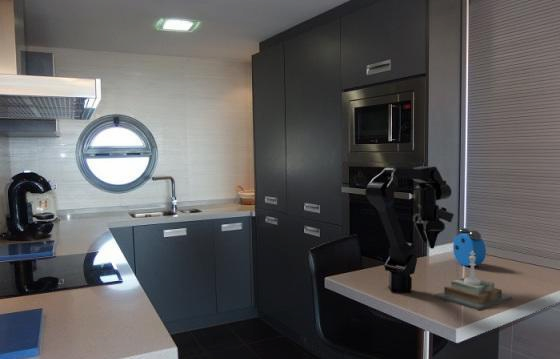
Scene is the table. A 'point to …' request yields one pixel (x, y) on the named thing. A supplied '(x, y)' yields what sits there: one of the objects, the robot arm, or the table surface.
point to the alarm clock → (469, 247)
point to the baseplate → (472, 304)
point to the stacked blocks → (473, 291)
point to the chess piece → (472, 271)
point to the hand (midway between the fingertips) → (428, 245)
